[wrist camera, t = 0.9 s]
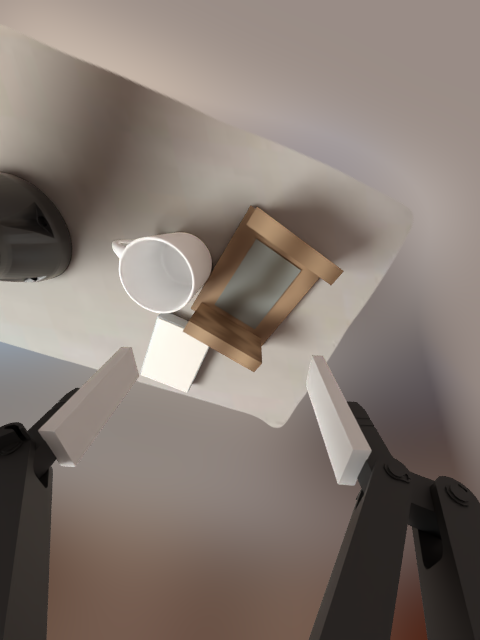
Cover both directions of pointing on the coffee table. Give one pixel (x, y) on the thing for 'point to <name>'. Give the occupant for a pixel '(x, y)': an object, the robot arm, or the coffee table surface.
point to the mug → (163, 269)
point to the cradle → (255, 288)
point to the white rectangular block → (173, 353)
